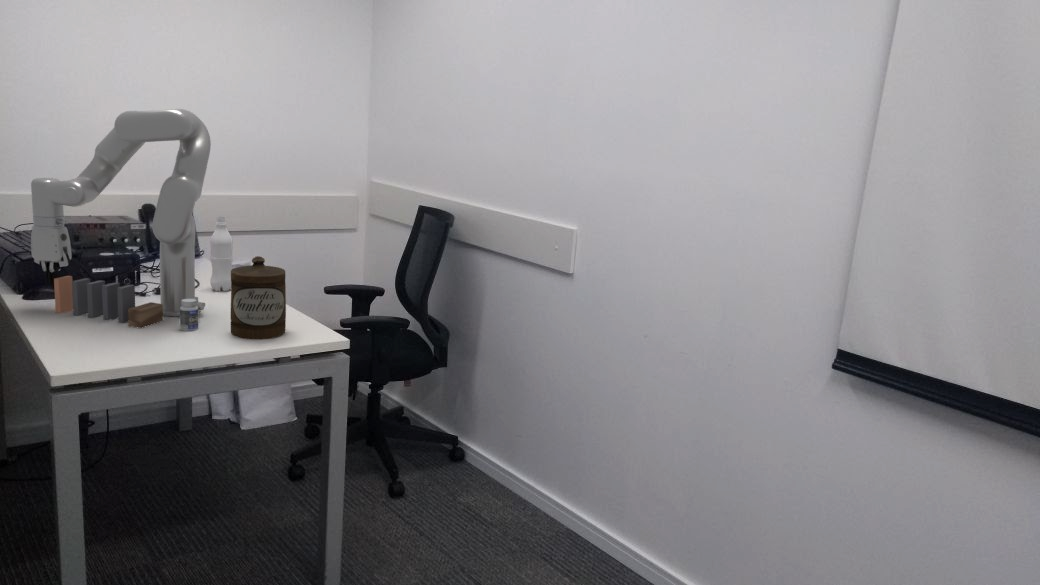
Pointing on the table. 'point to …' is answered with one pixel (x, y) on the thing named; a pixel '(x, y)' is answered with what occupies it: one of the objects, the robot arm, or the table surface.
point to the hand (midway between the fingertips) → (52, 284)
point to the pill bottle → (189, 315)
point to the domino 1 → (63, 294)
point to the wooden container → (258, 301)
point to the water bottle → (221, 256)
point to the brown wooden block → (145, 314)
